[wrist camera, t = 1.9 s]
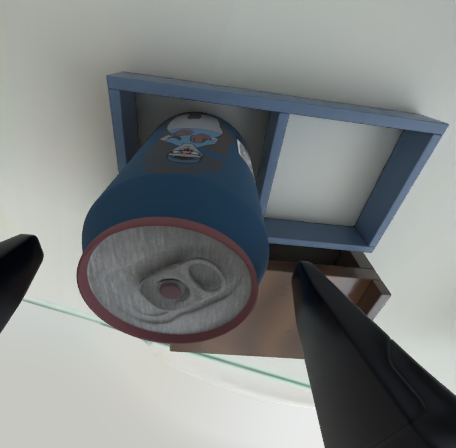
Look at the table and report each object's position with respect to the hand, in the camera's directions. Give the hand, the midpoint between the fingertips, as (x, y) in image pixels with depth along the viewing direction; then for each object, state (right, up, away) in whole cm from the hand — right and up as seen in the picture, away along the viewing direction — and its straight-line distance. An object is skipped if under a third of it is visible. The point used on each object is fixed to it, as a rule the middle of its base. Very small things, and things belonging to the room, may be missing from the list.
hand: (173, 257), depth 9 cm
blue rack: (+5, +5, +9) cm, 12 cm away
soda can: (0, +6, +9) cm, 11 cm away
